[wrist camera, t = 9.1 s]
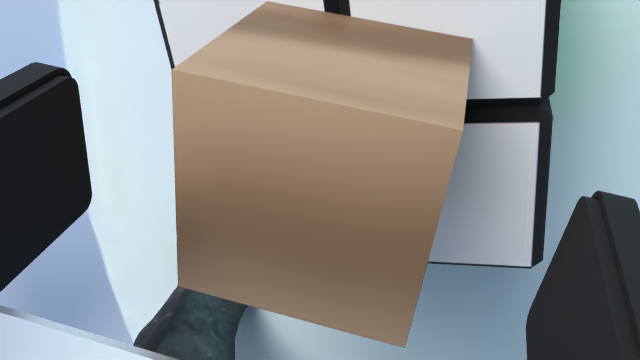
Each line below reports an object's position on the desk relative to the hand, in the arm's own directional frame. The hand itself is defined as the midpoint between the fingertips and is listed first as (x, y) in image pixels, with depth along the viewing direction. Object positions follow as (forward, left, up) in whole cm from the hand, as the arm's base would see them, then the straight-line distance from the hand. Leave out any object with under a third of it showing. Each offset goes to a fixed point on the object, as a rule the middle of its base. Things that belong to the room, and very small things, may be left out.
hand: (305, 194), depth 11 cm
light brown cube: (+1, 0, -5) cm, 5 cm away
